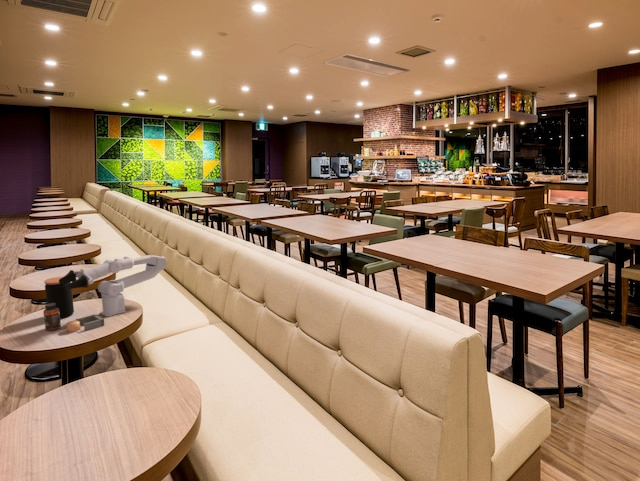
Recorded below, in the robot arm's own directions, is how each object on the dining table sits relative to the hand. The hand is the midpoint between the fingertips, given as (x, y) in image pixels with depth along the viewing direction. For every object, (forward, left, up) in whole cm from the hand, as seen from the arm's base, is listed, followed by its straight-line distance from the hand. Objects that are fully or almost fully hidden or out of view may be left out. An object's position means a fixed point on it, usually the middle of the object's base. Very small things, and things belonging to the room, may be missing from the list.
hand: (64, 284), depth 186 cm
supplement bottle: (+6, -2, -20) cm, 21 cm away
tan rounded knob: (0, +7, -20) cm, 21 cm away
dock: (-7, +7, -20) cm, 22 cm away
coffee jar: (-3, -17, -20) cm, 26 cm away
